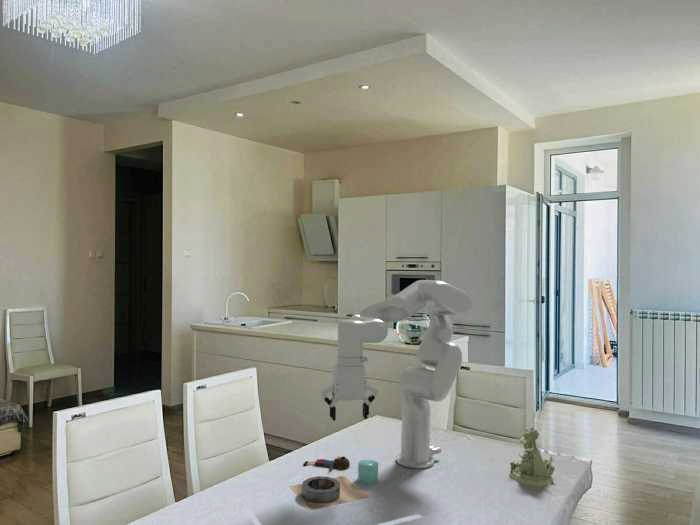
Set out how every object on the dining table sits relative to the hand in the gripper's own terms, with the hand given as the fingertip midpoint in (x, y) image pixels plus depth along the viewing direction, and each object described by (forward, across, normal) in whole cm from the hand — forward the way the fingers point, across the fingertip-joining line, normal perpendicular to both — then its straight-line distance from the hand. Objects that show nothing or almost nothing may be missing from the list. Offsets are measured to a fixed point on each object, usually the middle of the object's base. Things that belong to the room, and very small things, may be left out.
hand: (349, 418), depth 158 cm
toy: (+20, +4, -13) cm, 25 cm away
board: (+20, +7, +6) cm, 22 cm away
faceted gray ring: (+18, +10, +8) cm, 22 cm away
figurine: (+21, -58, +4) cm, 62 cm away
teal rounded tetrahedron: (+20, -6, +1) cm, 21 cm away
